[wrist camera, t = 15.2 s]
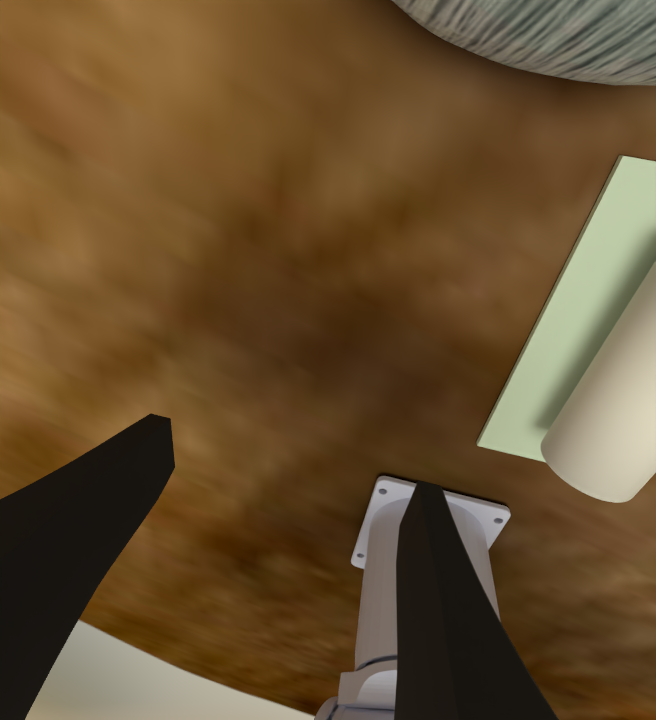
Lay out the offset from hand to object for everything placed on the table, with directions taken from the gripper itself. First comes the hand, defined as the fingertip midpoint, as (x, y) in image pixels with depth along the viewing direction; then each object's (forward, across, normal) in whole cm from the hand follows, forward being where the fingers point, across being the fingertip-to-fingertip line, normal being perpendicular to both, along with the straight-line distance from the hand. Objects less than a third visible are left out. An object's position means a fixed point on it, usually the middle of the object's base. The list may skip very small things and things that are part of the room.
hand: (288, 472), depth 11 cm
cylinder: (+9, -12, -2) cm, 16 cm away
